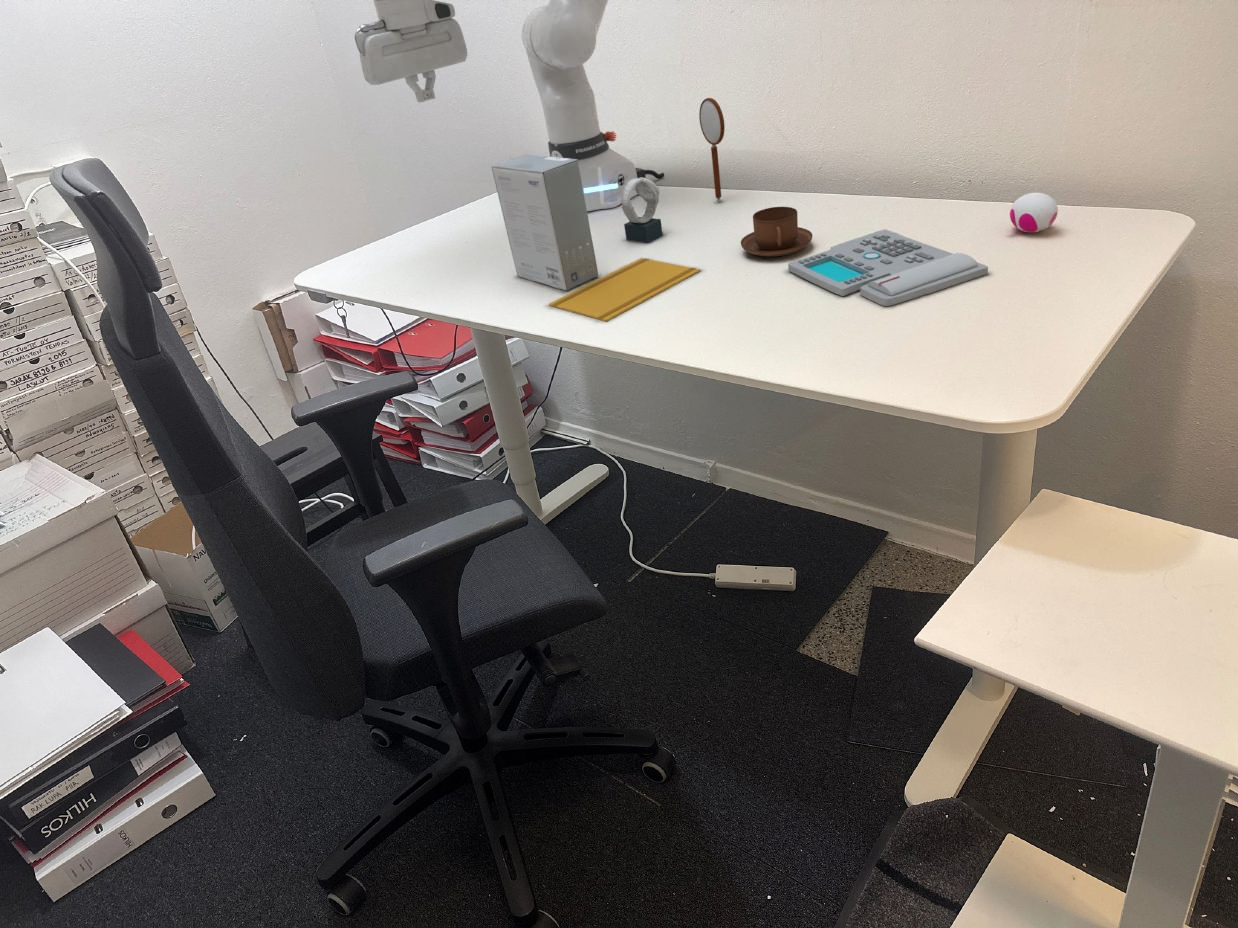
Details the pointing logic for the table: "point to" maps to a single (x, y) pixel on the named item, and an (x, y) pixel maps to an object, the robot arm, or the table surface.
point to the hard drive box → (546, 219)
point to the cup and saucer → (776, 233)
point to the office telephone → (887, 268)
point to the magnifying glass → (713, 134)
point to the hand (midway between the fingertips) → (426, 100)
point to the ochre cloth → (624, 289)
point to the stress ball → (1033, 212)
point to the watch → (646, 225)
